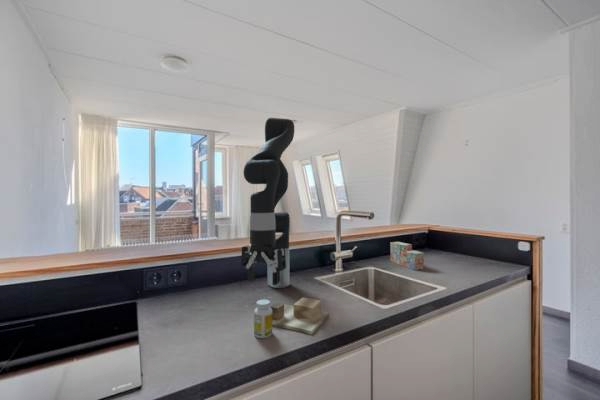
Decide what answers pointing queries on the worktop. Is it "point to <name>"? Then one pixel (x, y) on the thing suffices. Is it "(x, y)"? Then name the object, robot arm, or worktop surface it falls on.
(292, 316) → the birch board
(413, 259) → the stack of blocks
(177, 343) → the worktop surface
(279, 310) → the walnut block
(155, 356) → the worktop surface
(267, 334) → the supplement bottle
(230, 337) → the worktop surface
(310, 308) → the oak pedestal
